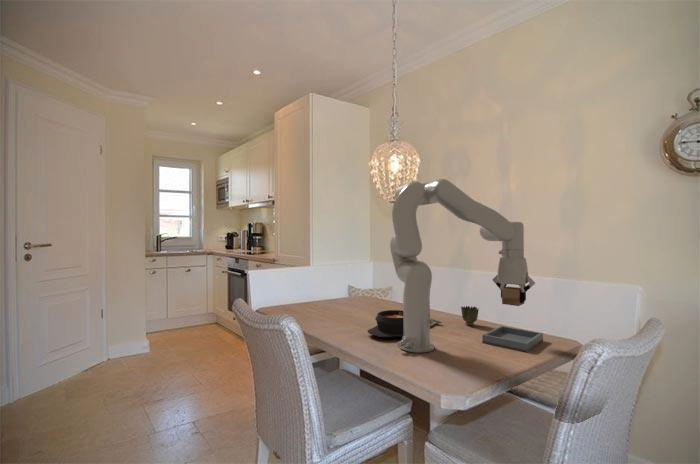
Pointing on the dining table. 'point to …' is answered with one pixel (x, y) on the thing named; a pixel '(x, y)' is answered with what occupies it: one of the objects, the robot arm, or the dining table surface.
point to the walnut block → (511, 296)
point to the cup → (469, 315)
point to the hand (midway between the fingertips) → (513, 300)
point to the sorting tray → (513, 338)
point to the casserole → (388, 324)
